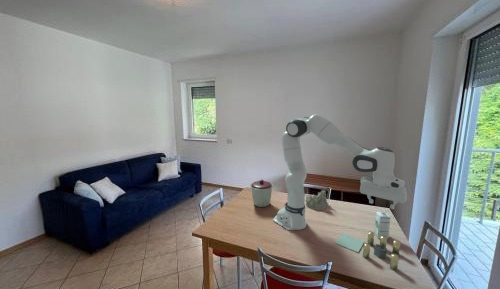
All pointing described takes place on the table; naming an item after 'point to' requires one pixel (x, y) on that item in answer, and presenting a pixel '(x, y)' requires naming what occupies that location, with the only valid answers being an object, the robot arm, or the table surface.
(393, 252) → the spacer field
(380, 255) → the hex nut
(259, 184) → the canister
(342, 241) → the mat
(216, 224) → the table surface
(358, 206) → the table surface
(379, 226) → the syrup box
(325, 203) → the jagged green rock
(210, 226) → the table surface
